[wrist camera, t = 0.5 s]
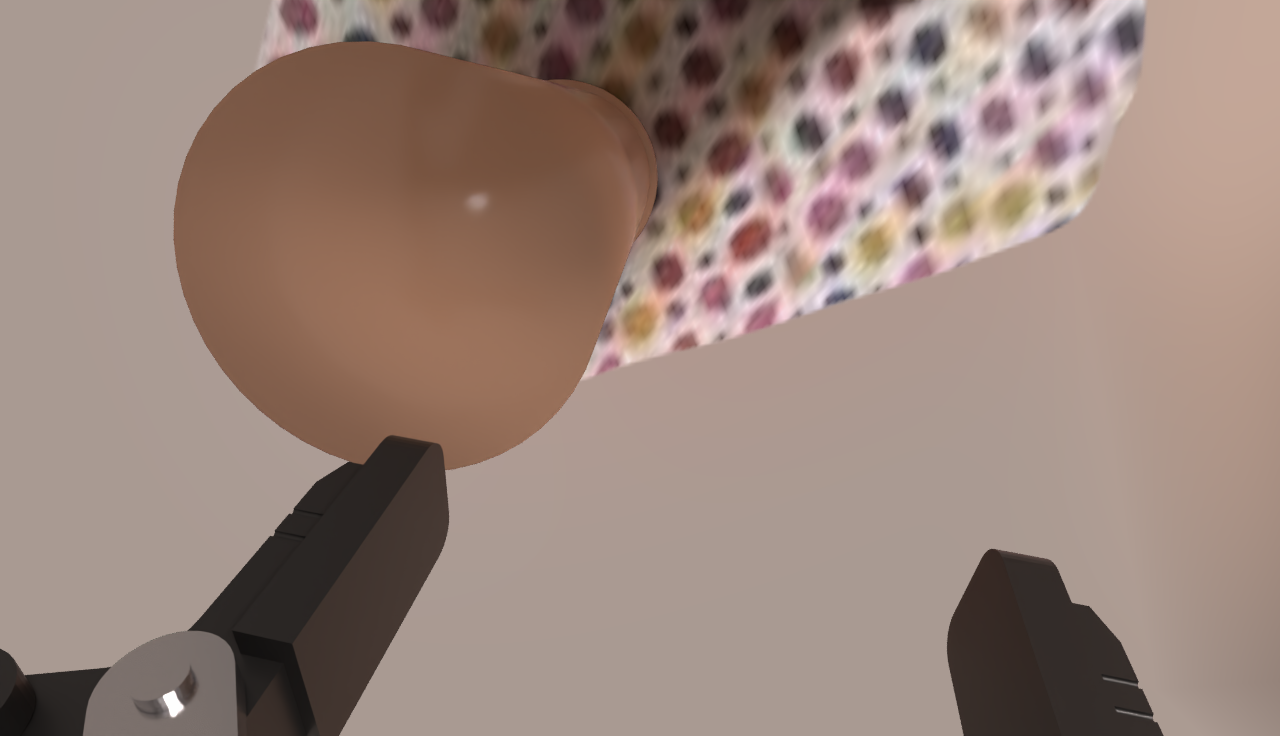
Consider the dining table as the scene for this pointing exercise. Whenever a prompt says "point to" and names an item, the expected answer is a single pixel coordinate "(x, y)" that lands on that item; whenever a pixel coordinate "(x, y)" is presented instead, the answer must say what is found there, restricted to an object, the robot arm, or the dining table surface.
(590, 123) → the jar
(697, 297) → the dining table surface
